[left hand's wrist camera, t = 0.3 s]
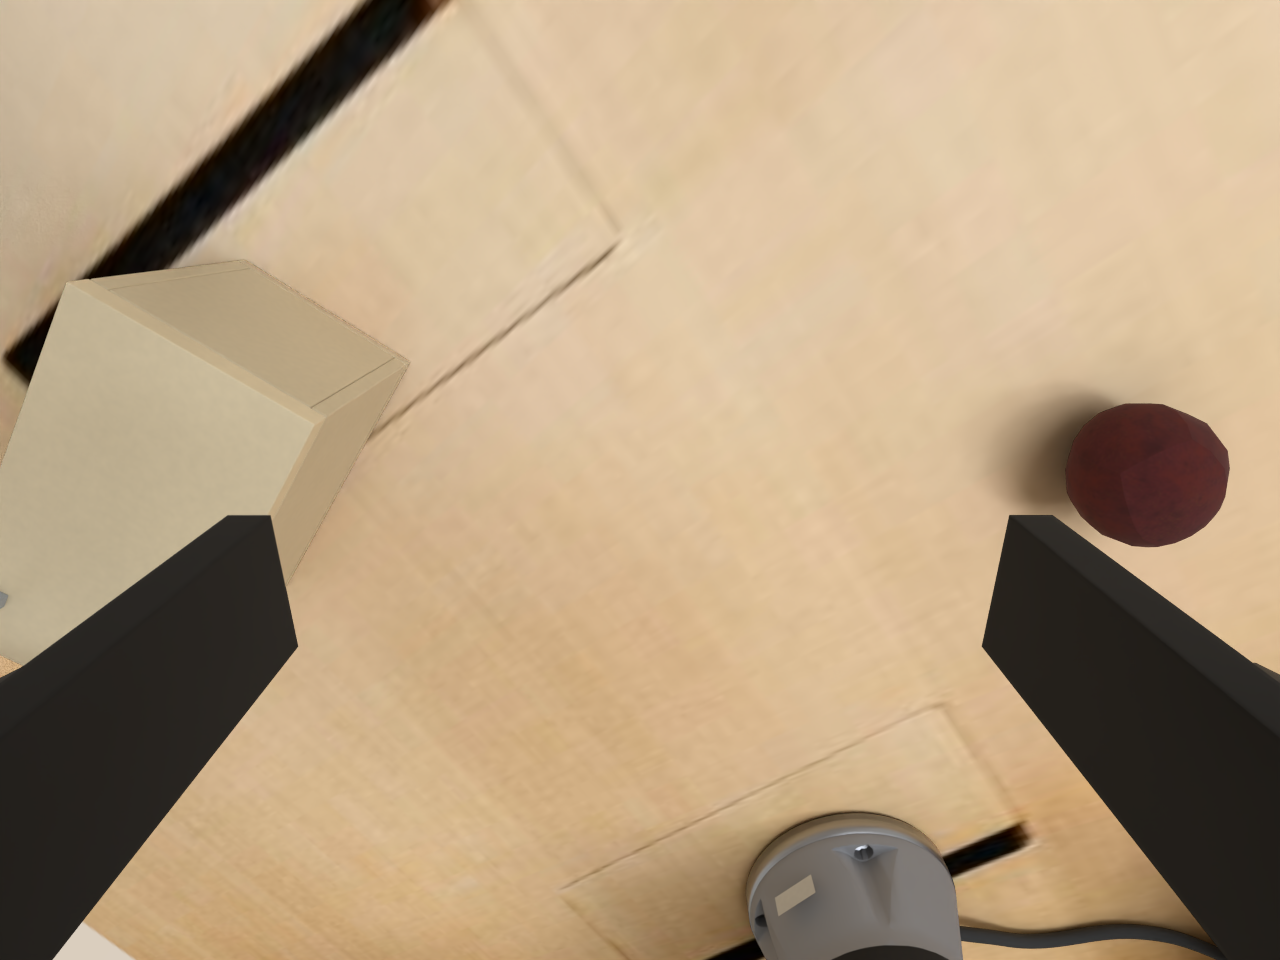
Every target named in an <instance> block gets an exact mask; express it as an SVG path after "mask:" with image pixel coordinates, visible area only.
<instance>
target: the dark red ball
mask: <svg viewBox="0 0 1280 960" xmlns="http://www.w3.org/2000/svg"><path fill="white" fill-rule="evenodd" d="M1229 469H1230V467H1229V458H1228V451H1227V449H1226V448H1225V447H1224V445H1223V444H1222V443H1221V441H1220V440H1219V439H1218V437H1217V436H1216V435H1215V433H1214V432H1213V431H1212V429H1211V428H1210V427H1209V426H1208V424H1207V423H1205V422H1203V421H1201V420H1199V419H1197V418H1195V417H1193V416H1191V415H1188V414H1186V413H1183V412H1181V411H1178V410H1176V409H1173V408H1171V407H1168V406H1166V405H1163V404H1123V405H1120V406H1117V407H1114V408H1111V409H1109V410H1106V411H1103V412H1101V413H1099V414H1097V415H1096V416H1095V417H1094V418H1092V419H1091V420H1090V421H1089V422H1088V423H1086V424H1085V425H1084V426H1083V428H1082V429H1081V431H1080V432H1079V434H1078V435H1077V437H1076V438H1075V439H1074V441H1073V444H1072V448H1071V451H1070V455H1069V458H1068V461H1067V465H1066V470H1065V471H1066V485H1067V493H1068V495H1069V498H1070V500H1071V502H1072V503H1073V505H1074V506H1075V508H1076V509H1077V511H1078V513H1079V514H1080V516H1081V517H1082V518H1084V519H1085V520H1086V521H1087V522H1088V523H1089V524H1090V525H1091V526H1092V527H1094V528H1095V529H1096V530H1097V531H1098V532H1100V533H1101V534H1102V535H1104V536H1107V537H1110V538H1112V539H1115V540H1118V541H1120V542H1123V543H1125V544H1128V545H1131V546H1139V547H1159V546H1164V545H1169V544H1173V543H1176V542H1179V541H1181V540H1183V539H1186V538H1188V537H1190V536H1192V535H1193V534H1195V533H1196V532H1198V531H1199V530H1201V529H1202V528H1204V527H1205V526H1206V525H1207V524H1208V523H1209V522H1210V521H1211V520H1212V518H1213V517H1214V516H1215V515H1216V514H1217V512H1218V511H1219V510H1220V508H1221V505H1222V503H1223V501H1224V498H1225V495H1226V488H1227V482H1228V476H1229Z"/></svg>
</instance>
